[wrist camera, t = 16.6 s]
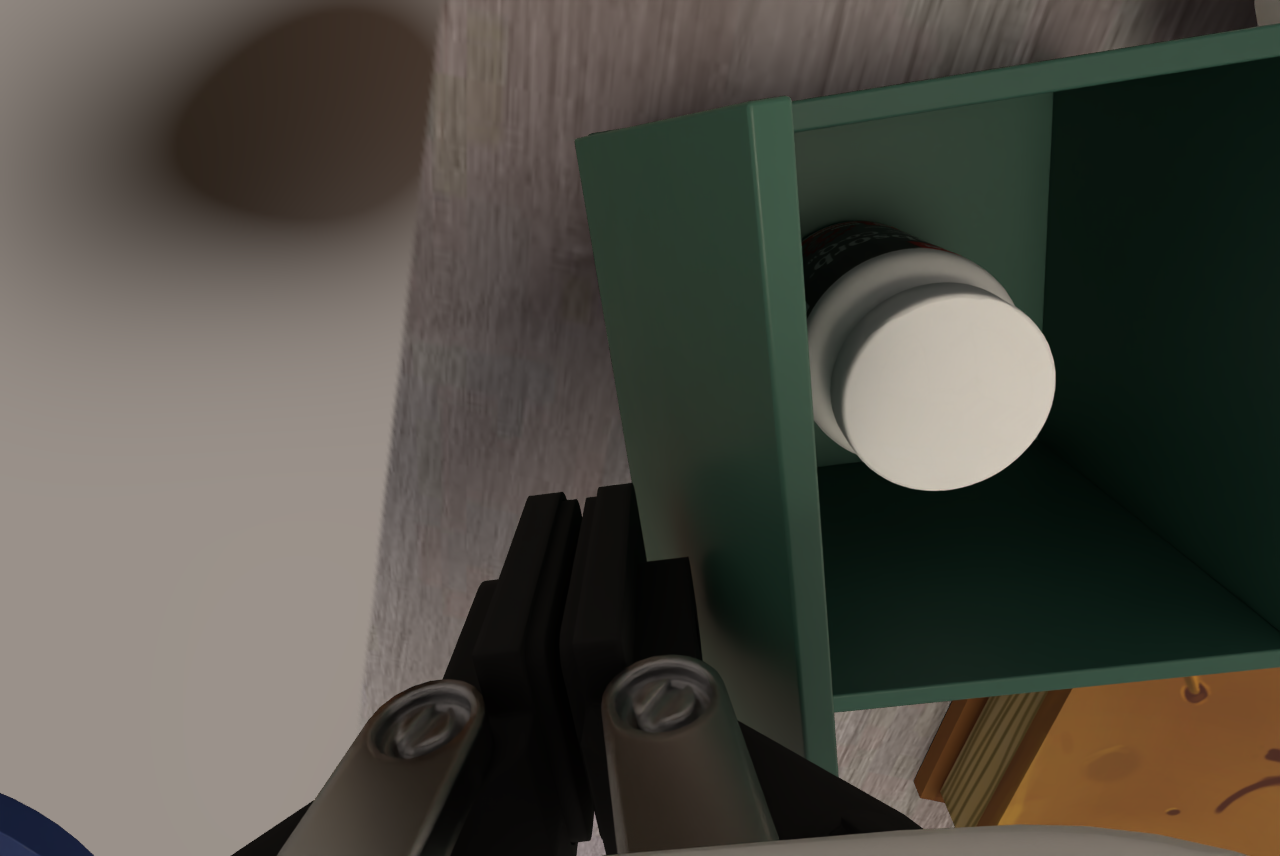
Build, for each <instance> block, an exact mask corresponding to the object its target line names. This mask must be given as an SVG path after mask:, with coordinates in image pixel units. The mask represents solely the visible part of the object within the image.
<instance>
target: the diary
mask: <svg viewBox="0 0 1280 856" xmlns="http://www.w3.org/2000/svg"><path fill="white" fill-rule="evenodd" d="M914 783H915V786H916V789H917V791H918V794H919V796H920V798H923V799H928V800H933V801H938V802H943V803H945V804H946V807H947V809H948V811H949V814H950V816H951V818H952V821H953V823H954V826H955V828H961V827H980V826H999V825H1019V824H1022V825H1062V826H1090V827H1099V828H1107V829H1116V830H1125V831H1133V832H1142V833H1151V834H1159V835H1163V836H1168V837H1172V838H1177V839H1181V840H1186V841H1191V842H1195V843H1200V844H1204V845H1209V846H1213V847H1218V848H1222V849H1227V850H1231V851H1236V852H1239V853H1242V854H1245V855H1249V856H1280V667H1278V668H1268V669H1258V670H1248V671H1238V672H1229V673H1219V674H1209V675H1199V676H1189V677H1179V678H1169V679H1160V680H1150V681H1140V682H1130V683H1120V684H1110V685H1100V686H1091V687H1081V688H1071V689H1061V690H1051V691H1041V692H1031V693H1022V694H1012V695H1002V696H992V697H982V698H972V699H962V700H953V701H952V703H951V705H950V707H949V709H948V711H947V713H946V715H945V717H944V719H943V721H942V723H941V726H940V728H939V730H938V732H937V734H936V736H935V738H934V740H933V742H932V744H931V746H930V749H929V751H928V753H927V755H926V757H925V759H924V761H923V763H922V765H921V767H920V769H919V772H918V774H917V776H916V778H915V780H914Z"/></svg>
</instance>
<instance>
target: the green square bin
mask: <svg viewBox="0 0 1280 856" xmlns="http://www.w3.org/2000/svg"><path fill="white" fill-rule="evenodd" d="M792 113H793V128H794V142H795V157H796V171H797V186H798V200H799V215H800V229H801V242H802V241H803V240H804V239H806V238H807V237H809V236H810V235H812V234H813V233H815V232H817V231H819V230H821V229H823V228H826V227H829V226H831V225H835V224H838V223H843V222H851V221H867V222H875V223H880V224H884V225H888V226H891V227H894V228H896V229H898V230H901V231H903V232H905V233H907V234H909V235H912V236H914V237H917V238H919V239H921V240H924V241H926V242H929V243H931V244H933V245H936V246H938V247H941V248H943V249H945V250H948V251H951V252H953V253H956V254H958V255H960V256H962V257H965V258H966V259H968V260H970V261H972V262H974V263H975V264H977V265H979V266H980V267H982V268H983V269H985V270H986V271H987V272H988V273H990V274H991V275H992V276H993V277H994V278H995V279H996V280H997V281H998V282H999V283H1000V284H1001V285H1002V286H1003V288H1004V289H1005V290H1006V292H1007V293H1008V295H1009V297H1010V298H1011V300H1012V301H1013V303H1014V305H1015V307H1017V308H1018V309H1020V310H1021V311H1022V312H1024V313H1025V314H1026V315H1027V316H1028V317H1029V318H1030V319H1031V320H1032V321H1033V322H1034V323H1035V324H1036V325H1037V327H1038V328H1039V329H1040V331H1041V332H1042V334H1043V335H1044V337H1045V339H1046V341H1047V342H1048V344H1049V347H1050V350H1051V353H1052V356H1053V360H1054V366H1055V392H1054V398H1053V402H1052V406H1051V409H1050V412H1049V414H1048V417H1047V419H1046V422H1045V423H1044V425H1043V427H1042V429H1041V431H1040V432H1039V434H1038V435H1037V437H1036V438H1035V440H1034V441H1033V442H1032V444H1031V445H1030V446H1029V447H1028V448H1027V449H1026V450H1025V451H1024V452H1023V453H1022V454H1021V455H1020V456H1019V457H1018V458H1017V459H1016V460H1015V461H1014V462H1012V463H1011V464H1010V465H1009V466H1008V467H1006V468H1005V469H1003V470H1002V471H1000V472H998V473H997V474H995V475H993V476H991V477H989V478H987V479H985V480H983V481H981V482H978V483H975V484H972V485H969V486H966V487H962V488H957V489H952V490H945V491H942V490H940V491H926V490H917V489H911V488H907V487H904V486H901V485H897V484H895V483H893V482H891V481H889V480H886V479H885V478H883V477H881V476H880V475H878V474H877V473H875V472H874V471H873V470H871V469H870V468H869V467H868V466H867V465H866V464H865V463H864V462H863V461H862V460H861V459H860V458H859V457H858V455H857V454H855V453H852V452H850V451H848V450H846V449H844V448H843V447H841V446H840V445H838V444H837V443H836V442H834V441H833V440H832V439H831V438H829V437H828V436H827V435H826V434H825V433H824V432H823V431H822V430H821V429H820V427H819V426H818V425H817V424H816V422H815V421H814V431H815V446H816V460H817V475H818V489H819V503H820V518H821V532H822V547H823V561H824V576H825V590H826V605H827V619H828V634H829V648H830V662H831V677H832V691H833V706H834V712H844V711H854V710H864V709H874V708H884V707H893V706H903V705H913V704H923V703H933V702H943V701H953V700H962V699H972V698H982V697H992V696H1002V695H1012V694H1022V693H1031V692H1041V691H1051V690H1061V689H1071V688H1081V687H1091V686H1100V685H1110V684H1120V683H1130V682H1140V681H1150V680H1160V679H1169V678H1179V677H1189V676H1199V675H1209V674H1219V673H1229V672H1238V671H1248V670H1258V669H1268V668H1278V667H1280V23H1277V24H1270V25H1264V26H1258V27H1252V28H1245V29H1239V30H1233V31H1227V32H1220V33H1214V34H1208V35H1202V36H1196V37H1189V38H1183V39H1177V40H1171V41H1164V42H1158V43H1152V44H1146V45H1139V46H1133V47H1127V48H1121V49H1115V50H1108V51H1102V52H1096V53H1090V54H1083V55H1077V56H1071V57H1065V58H1058V59H1052V60H1046V61H1040V62H1033V63H1027V64H1021V65H1015V66H1009V67H1002V68H996V69H990V70H984V71H977V72H971V73H965V74H959V75H952V76H946V77H940V78H934V79H928V80H921V81H915V82H909V83H903V84H896V85H890V86H884V87H878V88H871V89H865V90H859V91H853V92H847V93H840V94H834V95H828V96H822V97H815V98H809V99H803V100H797V101H792ZM622 129H623V128H622ZM616 130H618V129H616ZM610 131H613V130H610ZM604 132H609V131H603V132H597V133H591V134H589V135H588V136H590V135H595V134H600V133H604Z"/></svg>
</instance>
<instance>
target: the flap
mask: <svg viewBox="0 0 1280 856" xmlns="http://www.w3.org/2000/svg"><path fill="white" fill-rule="evenodd" d="M575 147H576V153H577V159H578V165H579V171H580V177H581V183H582V189H583V195H584V201H585V207H586V213H587V219H588V225H589V231H590V237H591V243H592V248H593V254H594V260H595V266H596V272H597V278H598V284H599V290H600V296H601V302H602V308H603V314H604V320H605V326H606V332H607V338H608V344H609V350H610V355H611V361H612V367H613V373H614V379H615V385H616V391H617V397H618V403H619V409H620V415H621V421H622V427H623V433H624V439H625V445H626V451H627V457H628V462H629V468H630V474H631V480H632V483H633V485H634V489H635V493H636V499H637V505H638V511H639V516H640V522H641V528H642V534H643V540H644V546H645V552H646V557H647V561H655V560H664V559H672V558H680V557H689V561H690V567H691V573H692V580H693V587H694V593H695V600H696V607H697V615H698V623H699V631H700V639H701V649H702V659H703V661H704V662H706V663H707V664H709V665H710V666H711V667H713V668H714V669H715V670H717V672H718V673H719V675H720V676H721V678H722V680H723V681H724V683H725V686H726V689H727V692H728V695H729V697H730V700H731V703H732V706H733V709H734V712H735V714H736V717H737V720H738V721H740V722H742V723H744V724H745V725H747V726H749V727H751V728H753V729H754V730H756V731H758V732H760V733H761V734H763V735H765V736H767V737H768V738H770V739H772V740H774V741H775V742H777V743H779V744H781V745H782V746H784V747H786V748H788V749H789V750H791V751H793V752H795V753H797V754H798V755H800V756H802V757H804V758H805V759H807V760H809V761H811V762H812V763H814V764H816V765H818V766H819V767H821V768H823V769H825V770H826V771H828V772H830V773H832V774H833V775H835V776H837V777H838V764H837V749H836V735H835V720H834V706H833V691H832V677H831V662H830V648H829V634H828V619H827V605H826V590H825V576H824V561H823V547H822V532H821V518H820V503H819V489H818V475H817V460H816V446H815V431H814V417H813V402H812V388H811V373H810V359H809V345H808V330H807V316H806V301H805V287H804V272H803V258H802V243H801V229H800V215H799V200H798V186H797V171H796V157H795V142H794V128H793V113H792V101H791V98H790V97H788V96H780V97H773V98H767V99H760V100H754V101H748V102H743V103H739V104H734V105H730V106H725V107H720V108H716V109H711V110H706V111H702V112H697V113H692V114H688V115H683V116H678V117H674V118H669V119H665V120H660V121H655V122H651V123H646V124H641V125H637V126H632V127H627V128H623V129H618V130H613V131H609V132H604V133H600V134H595V135H590V136H586V137H581V138H577V139H575Z"/></svg>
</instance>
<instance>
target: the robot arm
mask: <svg viewBox="0 0 1280 856" xmlns="http://www.w3.org/2000/svg"><path fill="white" fill-rule="evenodd" d="M594 811H595V815H596V820H597V824H598V828H599V833H600V836H601V838H602V840H603V843H604V847H605V851H606V855H604V856H1249V855H1245V854H1242V853H1239V852H1236V851H1231V850H1227V849H1222V848H1218V847H1213V846H1209V845H1204V844H1200V843H1195V842H1191V841H1186V840H1181V839H1177V838H1172V837H1168V836H1163V835H1159V834H1151V833H1142V832H1133V831H1125V830H1116V829H1107V828H1099V827H1090V826H1062V825H1022V824H1019V825H999V826H980V827H961V828H940V829H923V828H921V827H920V826H919V825H917V824H916V823H915V822H913V821H912V820H911V819H909V818H908V817H907V816H905V815H904V814H902V813H900V812H899V811H897V810H895V809H893V808H892V807H890V806H888V805H886V804H885V803H883V802H881V801H879V800H877V799H876V798H874V797H872V796H870V795H869V794H867V793H865V792H863V791H862V790H860V789H858V788H856V787H855V786H853V785H851V784H849V783H848V782H846V781H844V780H842V779H841V778H839V777H837V776H835V775H833V774H832V773H830V772H828V771H826V770H825V769H823V768H821V767H819V766H818V765H816V764H814V763H812V762H811V761H809V760H807V759H805V758H804V757H802V756H800V755H798V754H797V753H795V752H793V751H791V750H789V749H788V748H786V747H784V746H782V745H781V744H779V743H777V742H775V741H774V740H772V739H770V738H768V737H767V736H765V735H763V734H761V733H760V732H758V731H756V730H754V729H753V728H751V727H749V726H747V725H745V724H744V723H742V722H740V721H738V720H737V717H736V714H735V712H734V709H733V706H732V703H731V700H730V697H729V695H728V692H727V689H726V686H725V683H724V681H723V680H722V678H721V676H720V675H719V673H718V672H717V670H715V669H714V668H713V667H711V666H710V665H709V664H707V663H706V662H704V661H703V659H702V649H701V639H700V631H699V623H698V615H697V607H696V600H695V593H694V587H693V580H692V573H691V567H690V561H689V557H680V558H672V559H664V560H655V561H647V557H646V552H645V546H644V540H643V534H642V528H641V522H640V516H639V511H638V505H637V499H636V493H635V489H634V485H633V483H628V484H620V485H612V486H605V487H599V488H598V492H597V497H589V498H586V502H585V507H584V512H583V517H582V514H581V509H580V505H579V502H578V500H577V499H573V500H567V499H566V496H565V494H564V493H563V492H558V493H550V494H542V495H534V496H529V497H528V498H527V501H526V504H525V507H524V509H523V512H522V515H521V518H520V521H519V523H518V526H517V529H516V532H515V535H514V537H513V540H512V543H511V546H510V549H509V552H508V554H507V557H506V560H505V563H504V566H503V568H502V571H501V574H500V577H499V579H497V580H489V581H484V582H482V583H481V585H480V586H479V588H478V591H477V593H476V596H475V598H474V601H473V604H472V606H471V609H470V611H469V614H468V616H467V619H466V621H465V624H464V626H463V629H462V632H461V634H460V637H459V639H458V642H457V644H456V647H455V649H454V652H453V654H452V657H451V659H450V662H449V665H448V667H447V670H446V672H445V675H444V677H443V680H435V681H429V682H426V683H423V684H420V685H416V686H413V687H411V688H409V689H407V690H405V691H403V692H401V693H399V694H397V695H395V696H394V697H393V698H391V699H390V700H389V701H387V702H386V703H385V704H383V705H382V706H381V707H380V708H379V709H378V710H377V711H376V712H375V713H374V715H373V716H372V717H371V718H370V719H369V720H368V722H367V723H366V725H365V726H364V728H363V729H362V730H361V732H360V733H359V735H358V736H357V738H356V739H355V741H354V742H353V744H352V745H351V747H350V748H349V750H348V751H347V753H346V754H345V756H344V757H343V759H342V760H341V762H340V763H339V765H338V766H337V767H336V769H335V770H334V772H333V773H332V775H331V776H330V778H329V779H328V781H327V782H326V784H325V785H324V787H323V788H322V790H321V791H320V793H319V794H318V796H317V797H316V798H315V800H314V801H312V802H311V803H309V804H308V805H306V806H305V807H303V808H302V809H300V810H299V811H297V812H296V813H294V814H293V815H291V816H290V817H288V818H287V819H285V820H284V821H282V822H281V823H279V824H278V825H276V826H275V827H273V828H272V829H270V830H269V831H267V832H266V833H264V834H263V835H261V836H260V837H258V838H257V839H255V840H254V841H252V842H251V843H249V844H248V845H246V846H245V847H243V848H242V849H240V850H239V851H237V852H236V853H234V854H233V855H231V856H576V855H577V846H578V842H583V841H590V840H591V837H592V829H593V818H594Z"/></svg>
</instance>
